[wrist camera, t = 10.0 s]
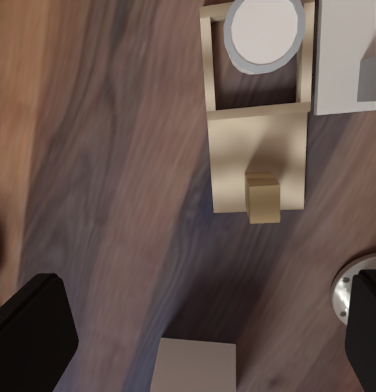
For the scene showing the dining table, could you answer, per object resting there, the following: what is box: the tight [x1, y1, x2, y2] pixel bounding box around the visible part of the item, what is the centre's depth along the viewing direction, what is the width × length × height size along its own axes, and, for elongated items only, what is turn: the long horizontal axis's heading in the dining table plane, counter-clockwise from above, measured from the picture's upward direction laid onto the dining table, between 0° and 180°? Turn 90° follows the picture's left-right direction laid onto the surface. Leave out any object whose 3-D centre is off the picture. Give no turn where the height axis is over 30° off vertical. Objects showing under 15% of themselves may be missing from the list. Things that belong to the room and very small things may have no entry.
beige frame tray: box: [199, 0, 315, 223], centre depth 28 cm, size 22×11×7 cm, turn 5°
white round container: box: [224, 0, 306, 75], centre depth 26 cm, size 7×7×7 cm
